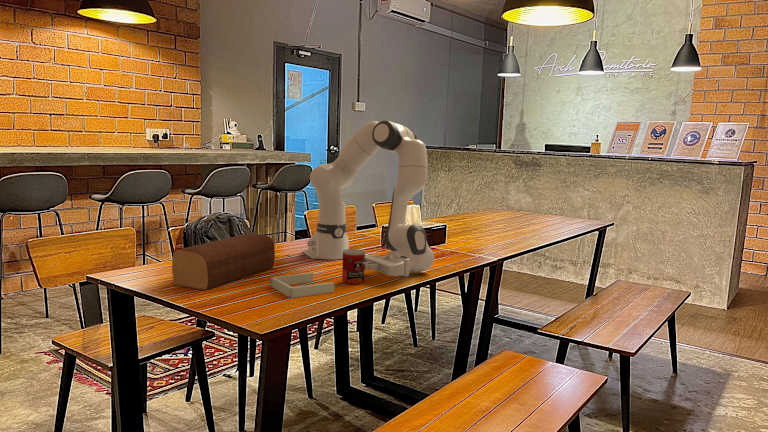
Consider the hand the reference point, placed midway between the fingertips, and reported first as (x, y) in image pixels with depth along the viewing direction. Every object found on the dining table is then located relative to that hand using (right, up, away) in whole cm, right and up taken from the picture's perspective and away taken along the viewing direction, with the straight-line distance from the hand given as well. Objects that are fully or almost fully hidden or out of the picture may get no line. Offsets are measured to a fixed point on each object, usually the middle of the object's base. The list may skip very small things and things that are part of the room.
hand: (363, 266), depth 207 cm
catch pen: (-19, -6, -12) cm, 24 cm away
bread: (-48, -4, +3) cm, 49 cm away
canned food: (-3, -5, -1) cm, 7 cm away
